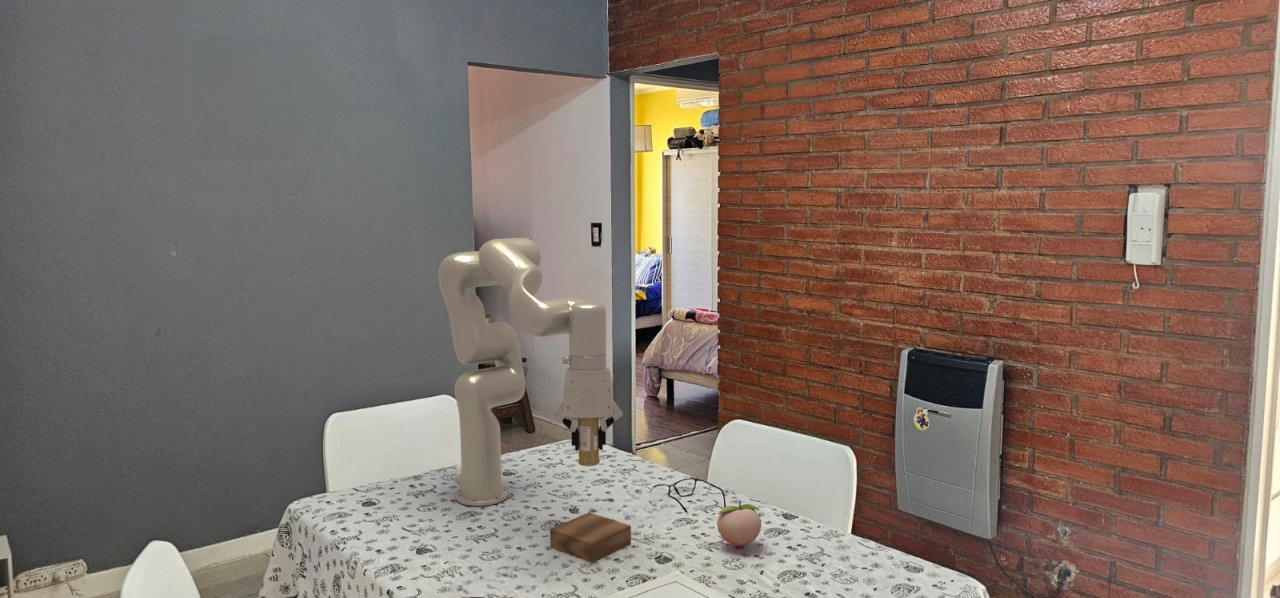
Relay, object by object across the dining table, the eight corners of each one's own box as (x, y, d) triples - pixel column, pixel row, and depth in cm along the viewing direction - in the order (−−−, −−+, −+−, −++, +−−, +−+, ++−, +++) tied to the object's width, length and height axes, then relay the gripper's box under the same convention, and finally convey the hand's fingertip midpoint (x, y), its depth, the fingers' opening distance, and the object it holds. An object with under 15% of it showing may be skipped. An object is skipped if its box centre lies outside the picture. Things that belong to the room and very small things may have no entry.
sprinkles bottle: (603, 464, 176) (603, 401, 174) (584, 468, 173) (584, 404, 171) (592, 458, 179) (592, 396, 178) (573, 462, 177) (573, 399, 175)
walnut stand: (550, 547, 178) (550, 528, 177) (589, 529, 187) (589, 512, 186) (592, 562, 170) (592, 543, 170) (630, 543, 179) (630, 525, 179)
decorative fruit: (732, 559, 171) (733, 512, 170) (710, 545, 179) (711, 499, 177) (770, 550, 176) (771, 504, 174) (747, 536, 183) (748, 492, 182)
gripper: (546, 366, 169) (547, 455, 171) (630, 365, 171) (630, 453, 173) (546, 359, 177) (548, 444, 179) (627, 358, 178) (627, 442, 180)
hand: (588, 447), depth 176 cm, fingers closed on sprinkles bottle, 4 cm apart
